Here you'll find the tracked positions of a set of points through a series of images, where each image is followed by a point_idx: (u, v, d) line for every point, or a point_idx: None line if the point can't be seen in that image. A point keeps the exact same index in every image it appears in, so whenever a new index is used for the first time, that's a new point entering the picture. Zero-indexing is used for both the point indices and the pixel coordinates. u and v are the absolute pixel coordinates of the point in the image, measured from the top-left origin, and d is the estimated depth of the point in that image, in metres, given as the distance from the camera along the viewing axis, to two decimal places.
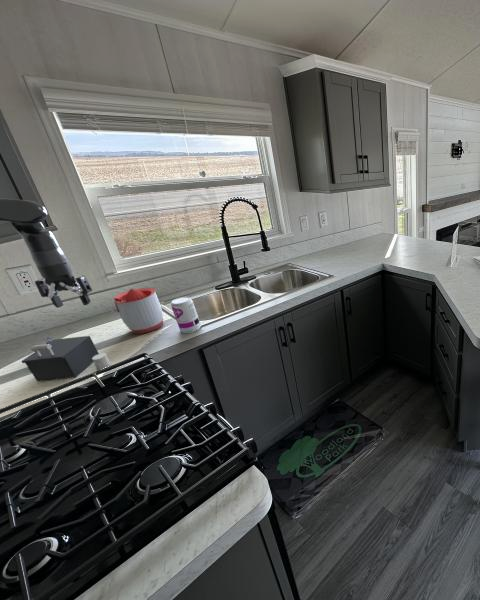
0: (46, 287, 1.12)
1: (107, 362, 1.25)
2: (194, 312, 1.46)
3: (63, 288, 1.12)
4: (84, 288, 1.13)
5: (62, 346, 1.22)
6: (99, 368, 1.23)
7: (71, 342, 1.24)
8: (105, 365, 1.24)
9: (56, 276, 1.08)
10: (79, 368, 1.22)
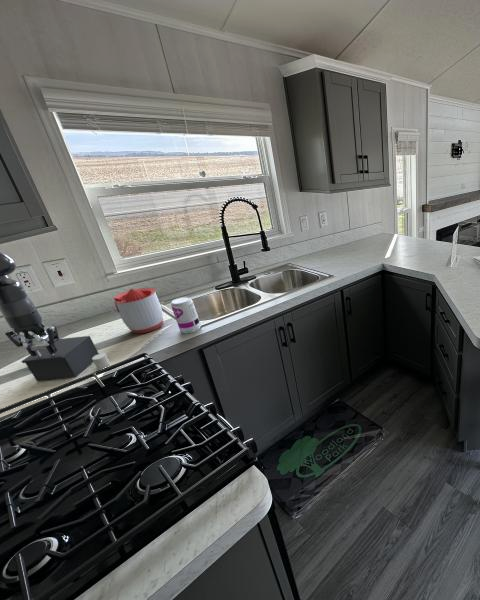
0: (19, 336, 1.13)
1: (107, 362, 1.25)
2: (194, 312, 1.46)
3: (32, 336, 1.12)
4: (51, 338, 1.13)
5: (62, 346, 1.22)
6: (99, 368, 1.23)
7: (71, 342, 1.24)
8: (105, 365, 1.24)
9: (24, 326, 1.08)
10: (79, 368, 1.22)
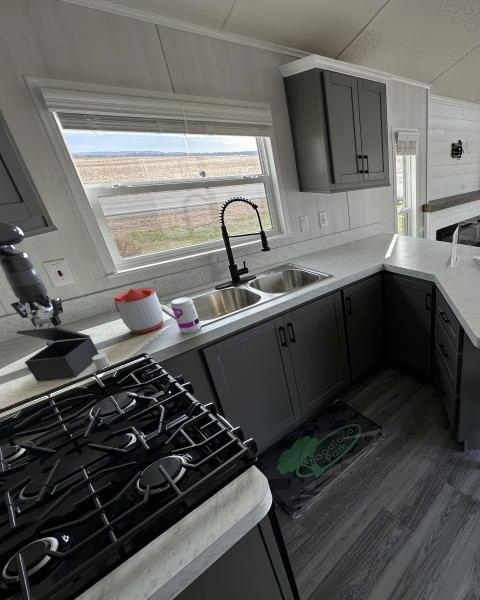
0: (24, 308, 1.15)
1: (107, 362, 1.25)
2: (194, 312, 1.46)
3: (37, 308, 1.14)
4: (56, 310, 1.16)
5: None
6: (99, 368, 1.23)
7: None
8: (105, 365, 1.24)
9: (30, 296, 1.11)
10: (79, 368, 1.22)
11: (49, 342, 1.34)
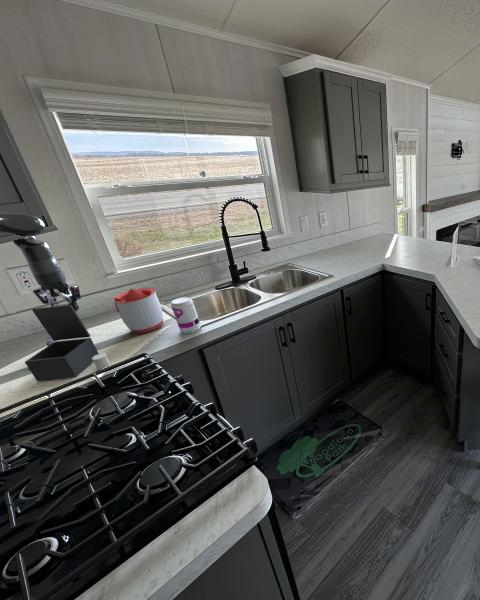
0: (45, 295, 1.24)
1: (107, 362, 1.25)
2: (194, 312, 1.46)
3: (57, 294, 1.23)
4: (74, 296, 1.24)
5: None
6: (99, 368, 1.23)
7: None
8: (105, 365, 1.24)
9: (51, 283, 1.19)
10: (79, 368, 1.22)
11: (49, 342, 1.34)
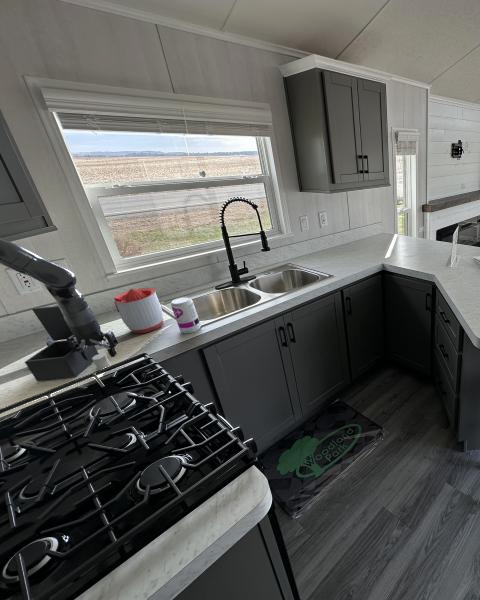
0: (76, 342, 1.21)
1: (107, 362, 1.25)
2: (194, 312, 1.46)
3: (92, 343, 1.20)
4: (112, 343, 1.21)
5: None
6: (99, 368, 1.23)
7: None
8: (105, 365, 1.24)
9: (86, 334, 1.16)
10: (79, 368, 1.22)
11: (49, 342, 1.34)
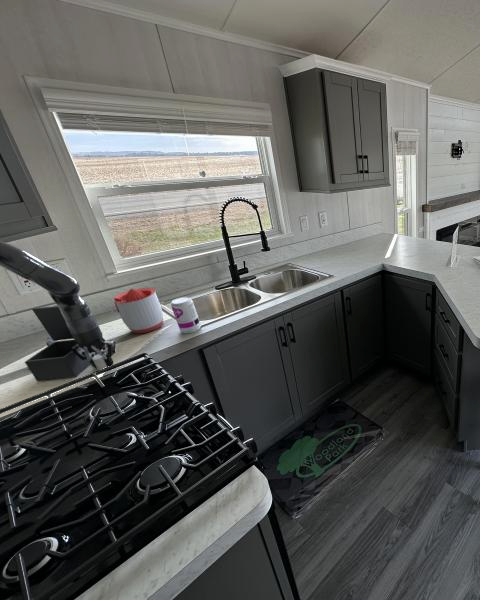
0: (82, 350, 1.22)
1: None
2: (194, 312, 1.46)
3: (94, 350, 1.21)
4: (110, 352, 1.22)
5: None
6: (99, 368, 1.23)
7: None
8: (105, 365, 1.24)
9: (89, 341, 1.17)
10: (79, 368, 1.22)
11: (49, 342, 1.34)
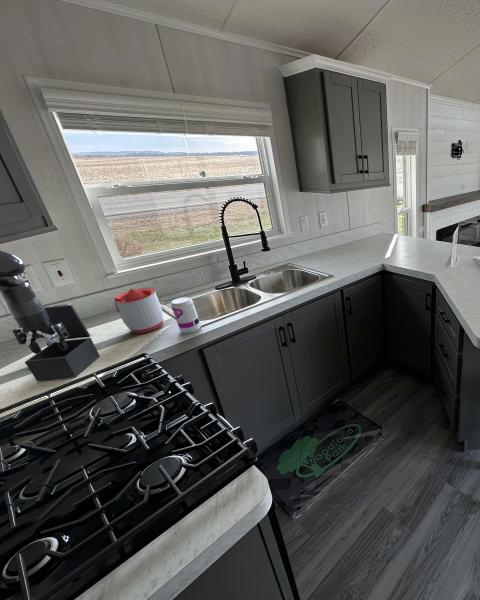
0: (24, 334, 1.15)
1: None
2: (194, 312, 1.46)
3: (40, 336, 1.15)
4: (61, 335, 1.16)
5: None
6: None
7: None
8: None
9: (33, 325, 1.11)
10: (79, 368, 1.22)
11: (49, 342, 1.34)
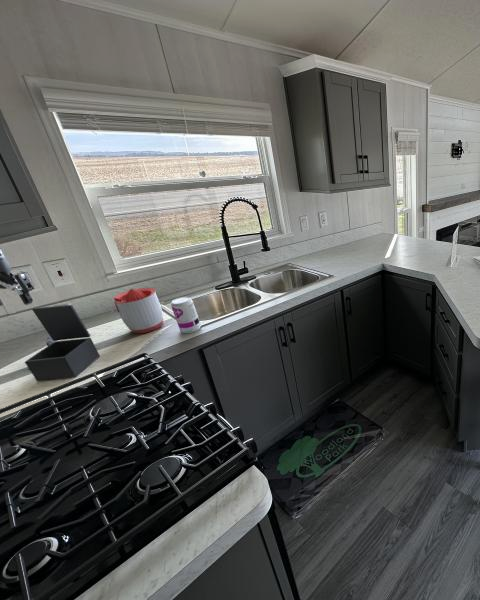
0: None
1: None
2: (194, 312, 1.46)
3: (0, 286, 1.03)
4: (24, 286, 1.04)
5: None
6: None
7: None
8: None
9: None
10: (79, 368, 1.22)
11: (49, 342, 1.34)
